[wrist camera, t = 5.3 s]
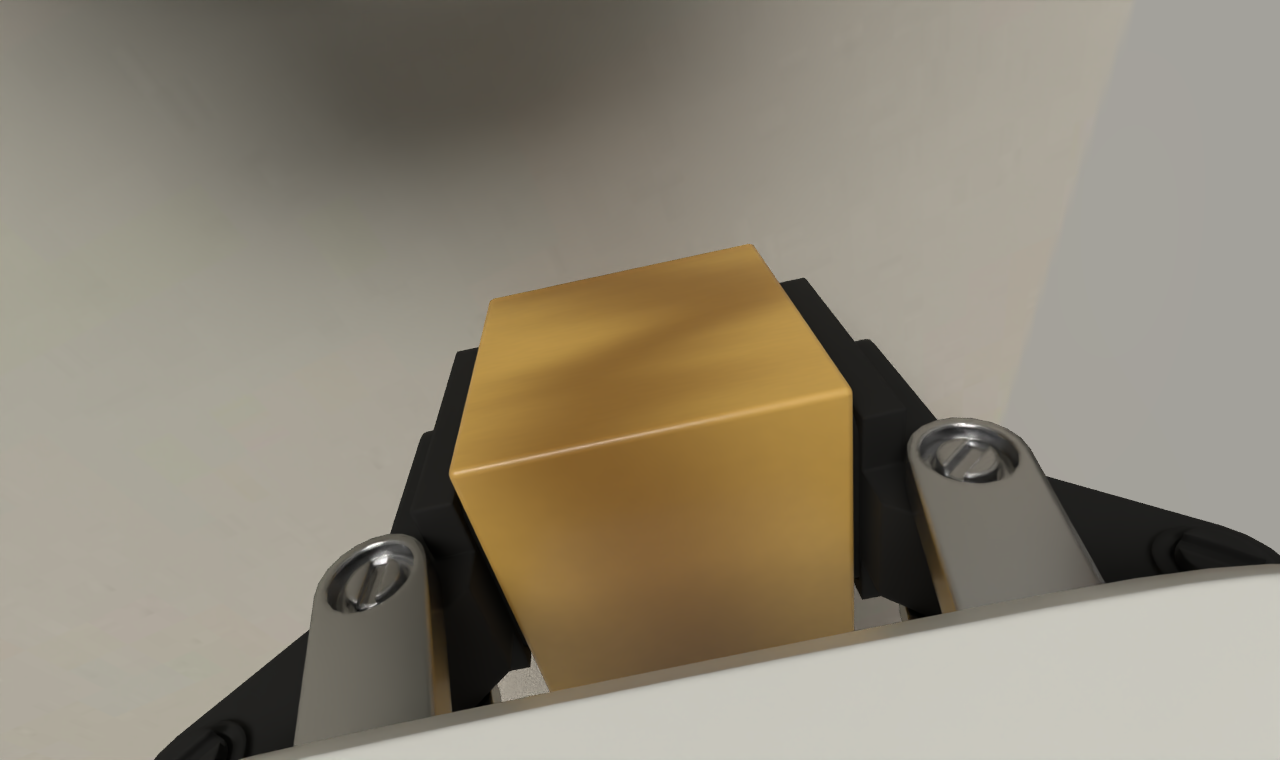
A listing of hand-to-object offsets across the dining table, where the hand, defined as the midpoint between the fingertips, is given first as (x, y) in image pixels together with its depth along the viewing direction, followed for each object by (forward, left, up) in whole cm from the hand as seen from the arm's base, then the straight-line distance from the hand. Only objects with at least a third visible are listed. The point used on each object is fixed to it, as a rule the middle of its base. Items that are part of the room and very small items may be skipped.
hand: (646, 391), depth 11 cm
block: (0, 0, 0) cm, 0 cm away
